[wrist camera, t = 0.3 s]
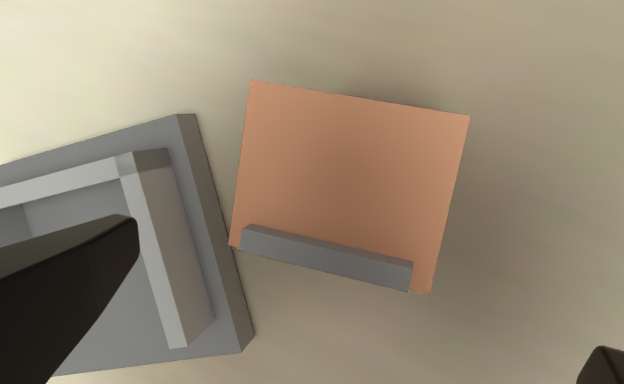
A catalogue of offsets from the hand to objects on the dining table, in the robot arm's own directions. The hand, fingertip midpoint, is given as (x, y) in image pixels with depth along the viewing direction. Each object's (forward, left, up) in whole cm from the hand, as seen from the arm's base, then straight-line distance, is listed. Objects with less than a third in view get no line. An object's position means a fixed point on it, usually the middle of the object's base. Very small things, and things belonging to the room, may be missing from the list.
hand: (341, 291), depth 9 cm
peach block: (+1, +2, -15) cm, 15 cm away
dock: (-15, +6, -15) cm, 22 cm away
